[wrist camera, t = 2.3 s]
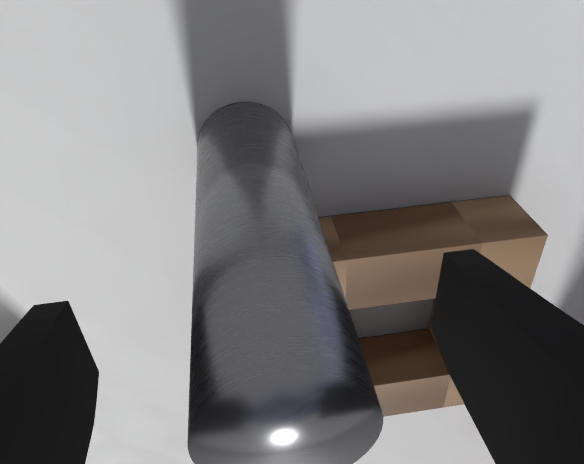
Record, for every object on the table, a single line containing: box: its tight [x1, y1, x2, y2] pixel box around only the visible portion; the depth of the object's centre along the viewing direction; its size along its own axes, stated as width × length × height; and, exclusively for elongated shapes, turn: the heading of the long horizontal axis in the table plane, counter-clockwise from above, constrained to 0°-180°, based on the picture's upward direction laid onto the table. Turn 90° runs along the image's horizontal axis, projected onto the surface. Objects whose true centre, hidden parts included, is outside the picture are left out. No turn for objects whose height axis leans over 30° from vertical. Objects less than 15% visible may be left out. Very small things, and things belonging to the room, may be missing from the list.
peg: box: [188, 102, 383, 464], centre depth 12 cm, size 3×3×10 cm
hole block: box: [319, 195, 548, 417], centre depth 19 cm, size 9×9×2 cm
